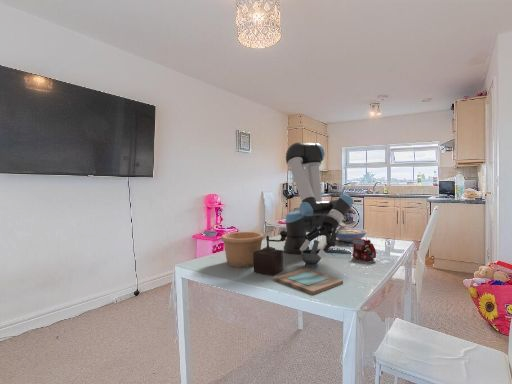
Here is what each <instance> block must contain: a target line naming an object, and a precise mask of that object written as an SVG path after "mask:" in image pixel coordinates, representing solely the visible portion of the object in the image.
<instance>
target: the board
mask: <svg viewBox="0 0 512 384" xmlns="http://www.w3.org/2000/svg"><path fill="white" fill-rule="evenodd" d="M272 277H273V278H272V280H273V281H275V280H276V281H275V282H278V283H280V282H281V284H283V283H284V284H283V285H286V286H289V287H291V288H294V289H297V290H300V291H302V292H305V293H307V294H311V295H316V294H319V293H322V292H324V291H326V290H329V289H332V288H335V287H337V286H340V285H342V284H344V280H342V279H339V278H337V277H332V276H330V275H327V274H323V273H320V272H315V271H312V270H308V269H305V268H300V269H296V270H292V271H289V272H287V273H283V274H280V275H276V276H275V275H274V276H272Z"/></svg>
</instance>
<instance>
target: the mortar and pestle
mask: <svg viewBox="0 0 512 384" xmlns="http://www.w3.org/2000/svg"><path fill="white" fill-rule="evenodd" d="M319 243H320V241H319V240H318V239H317V240H316V239H313V244H312V247H311V249H309V250H303V251H301V254H300V255H301V259H302V261H303V263H304V266H305V268H310V269H313V268H317V267H319V265H318V263H319V262H320V261H321V259H322V258H320V257H319V256H318V255H317V254H318V253H319V251H320V250H318V247H319Z"/></svg>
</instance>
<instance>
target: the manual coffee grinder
mask: <svg viewBox="0 0 512 384" xmlns="http://www.w3.org/2000/svg"><path fill="white" fill-rule="evenodd" d="M279 235H280V239H270V238H269V237H270V236H269V235H266V238H265V241H266V247H263V248H261V250H259V251H256V252H253V262H254V266H253V273H255V272H256V273H255V274H259V273H260V275H265V276H270V275H271V277H274V276H275V275H277V274H279V273H280V272H283V270H284V249H283V250H282V249H276V248H275V247H273V246H270V242H276V243H280V242H284V241H286V237H287V235H288V233H287V232H286V230H281V231H280V232H279Z"/></svg>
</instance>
